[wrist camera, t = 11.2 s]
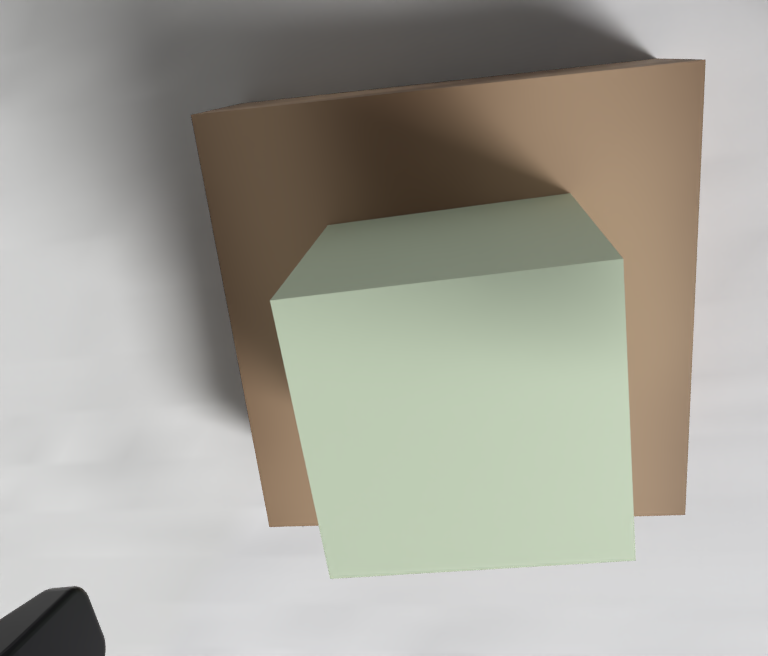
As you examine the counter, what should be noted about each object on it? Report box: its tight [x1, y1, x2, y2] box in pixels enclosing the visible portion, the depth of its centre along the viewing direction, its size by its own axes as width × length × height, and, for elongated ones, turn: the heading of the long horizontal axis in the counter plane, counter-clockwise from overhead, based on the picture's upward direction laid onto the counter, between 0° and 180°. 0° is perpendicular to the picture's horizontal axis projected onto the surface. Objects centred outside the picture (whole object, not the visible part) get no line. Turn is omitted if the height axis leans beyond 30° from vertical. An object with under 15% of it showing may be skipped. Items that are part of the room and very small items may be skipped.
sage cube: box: [270, 193, 636, 579], centre depth 13 cm, size 5×5×5 cm
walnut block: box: [191, 59, 705, 527], centre depth 18 cm, size 10×10×4 cm
